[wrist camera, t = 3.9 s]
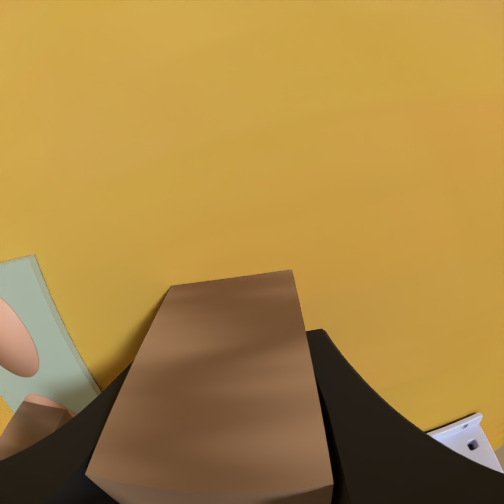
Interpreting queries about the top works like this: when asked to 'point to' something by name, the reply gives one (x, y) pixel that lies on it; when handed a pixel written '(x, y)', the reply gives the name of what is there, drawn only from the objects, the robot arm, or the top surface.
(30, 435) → the block
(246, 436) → the walnut block
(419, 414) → the top surface
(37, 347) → the board
